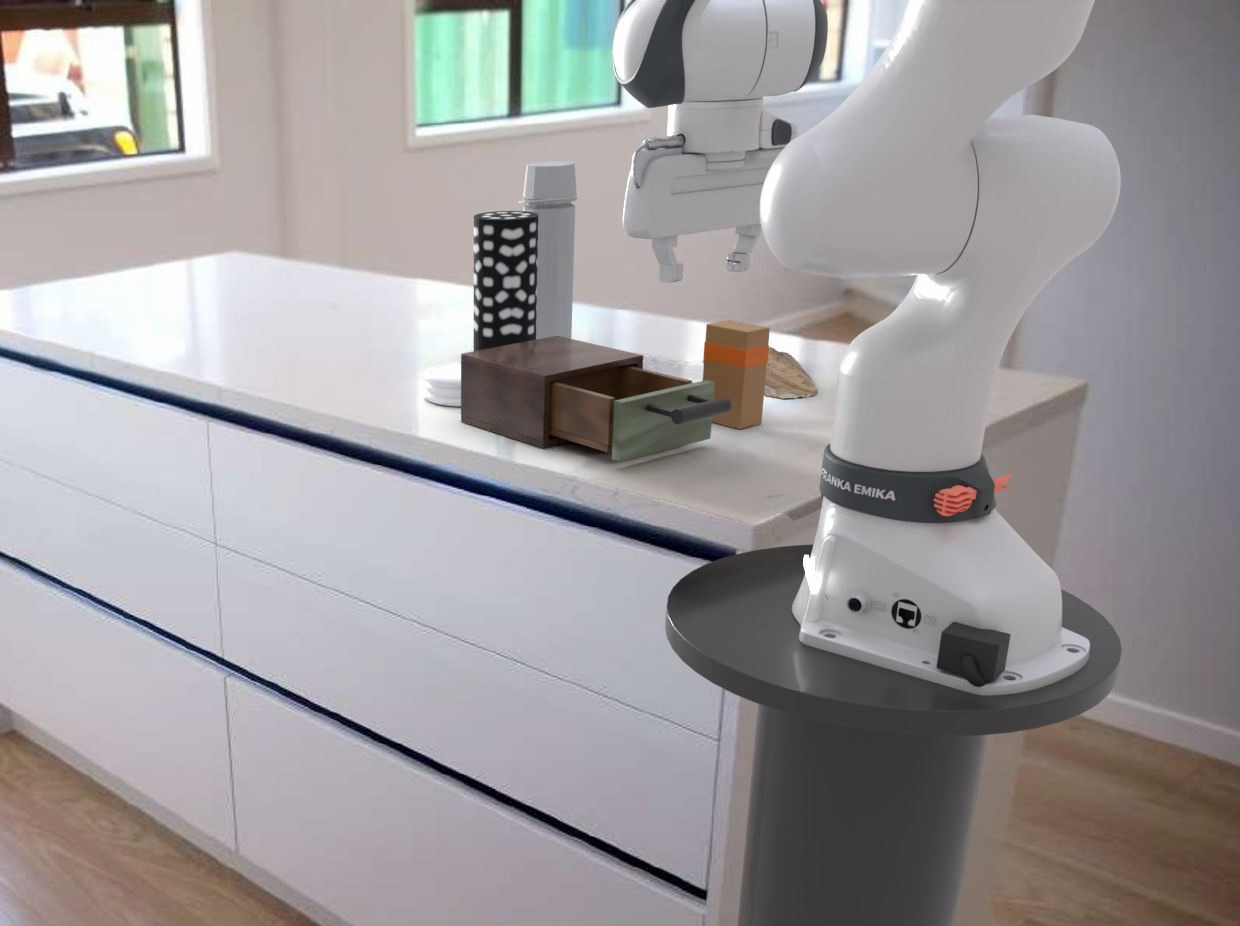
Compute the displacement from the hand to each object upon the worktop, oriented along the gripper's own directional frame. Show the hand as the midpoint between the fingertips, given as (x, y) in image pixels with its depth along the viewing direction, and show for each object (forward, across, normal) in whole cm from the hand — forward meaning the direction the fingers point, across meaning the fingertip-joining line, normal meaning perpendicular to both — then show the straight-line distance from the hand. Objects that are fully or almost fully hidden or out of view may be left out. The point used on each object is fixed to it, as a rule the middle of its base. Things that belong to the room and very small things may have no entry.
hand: (704, 276), depth 142 cm
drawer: (+18, -2, +6) cm, 19 cm away
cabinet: (+19, -2, +20) cm, 28 cm away
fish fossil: (+18, +34, +21) cm, 44 cm away
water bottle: (+18, +24, +53) cm, 61 cm away
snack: (+19, +14, +8) cm, 24 cm away
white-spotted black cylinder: (+18, +11, +46) cm, 50 cm away
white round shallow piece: (+19, -2, +36) cm, 41 cm away
